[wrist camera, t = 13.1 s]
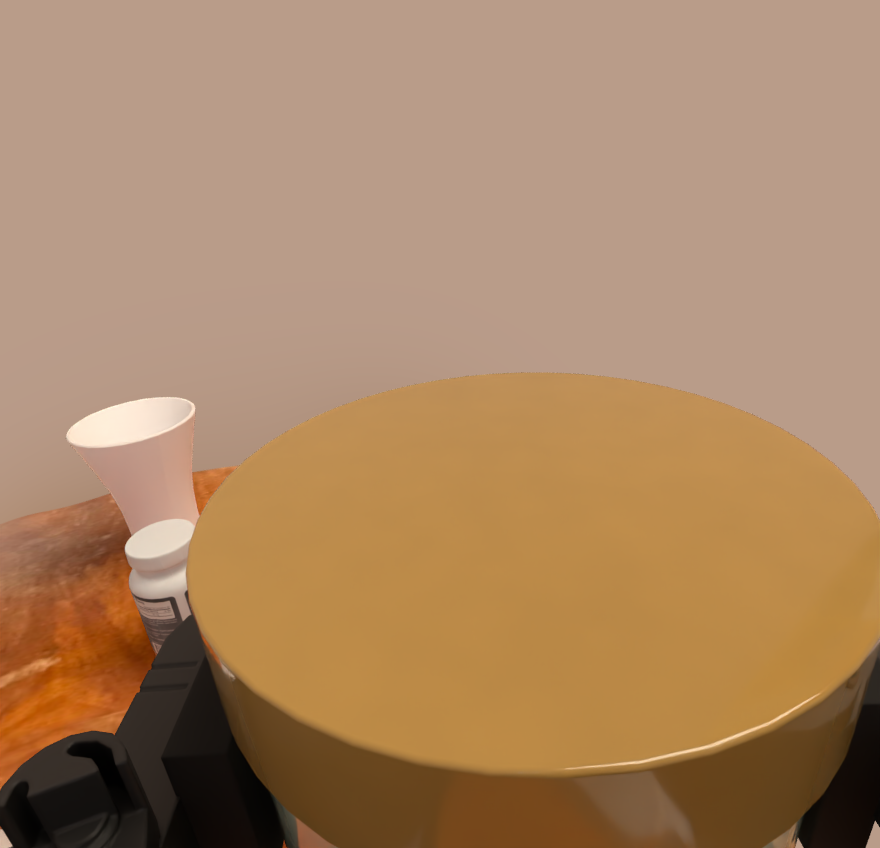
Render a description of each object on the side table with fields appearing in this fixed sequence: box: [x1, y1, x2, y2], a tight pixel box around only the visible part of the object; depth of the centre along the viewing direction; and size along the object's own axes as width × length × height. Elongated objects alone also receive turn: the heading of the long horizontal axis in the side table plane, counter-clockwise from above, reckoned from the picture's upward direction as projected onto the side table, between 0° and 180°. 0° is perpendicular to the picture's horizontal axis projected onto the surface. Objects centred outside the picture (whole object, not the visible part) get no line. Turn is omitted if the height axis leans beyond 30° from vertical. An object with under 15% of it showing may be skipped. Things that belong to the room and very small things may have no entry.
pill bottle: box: [125, 519, 195, 656], centre depth 44 cm, size 6×6×10 cm
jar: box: [186, 373, 880, 848], centre depth 9 cm, size 7×7×8 cm
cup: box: [66, 397, 200, 536], centre depth 56 cm, size 10×10×14 cm
